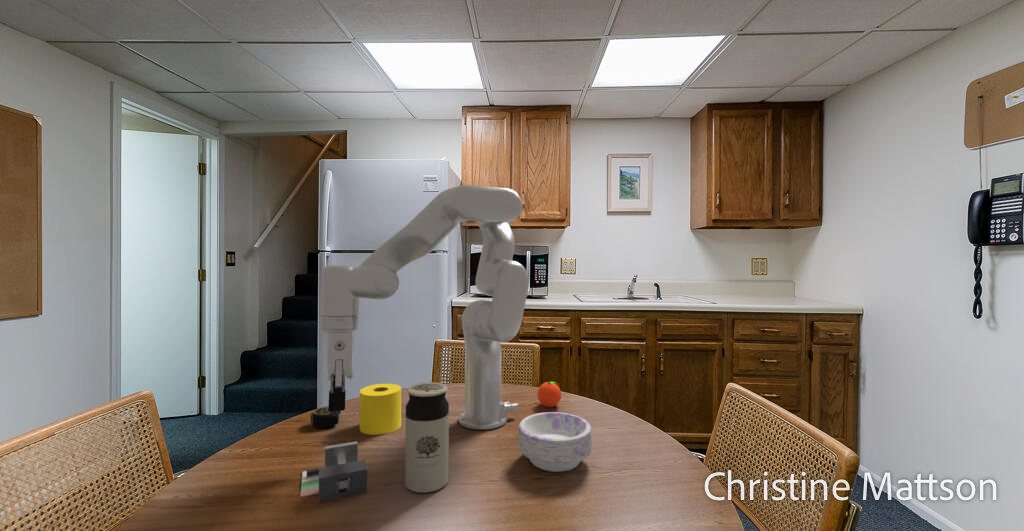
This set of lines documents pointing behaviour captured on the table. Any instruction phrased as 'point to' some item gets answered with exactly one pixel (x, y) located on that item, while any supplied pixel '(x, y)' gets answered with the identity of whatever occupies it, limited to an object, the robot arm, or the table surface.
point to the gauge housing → (342, 471)
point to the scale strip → (309, 485)
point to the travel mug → (427, 437)
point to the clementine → (549, 394)
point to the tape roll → (380, 409)
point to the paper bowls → (555, 440)
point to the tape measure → (324, 417)
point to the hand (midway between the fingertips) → (336, 409)
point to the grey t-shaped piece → (338, 458)
